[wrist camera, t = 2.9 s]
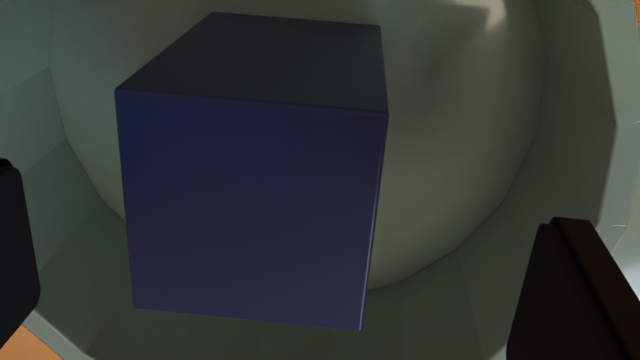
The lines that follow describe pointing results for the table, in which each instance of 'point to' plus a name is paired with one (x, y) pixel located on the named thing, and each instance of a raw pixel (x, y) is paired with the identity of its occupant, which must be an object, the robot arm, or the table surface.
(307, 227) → the block
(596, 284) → the robot arm
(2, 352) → the table surface
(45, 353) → the table surface
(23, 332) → the table surface
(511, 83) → the pan
